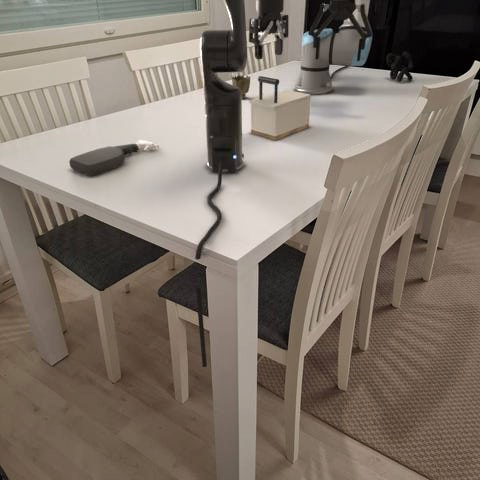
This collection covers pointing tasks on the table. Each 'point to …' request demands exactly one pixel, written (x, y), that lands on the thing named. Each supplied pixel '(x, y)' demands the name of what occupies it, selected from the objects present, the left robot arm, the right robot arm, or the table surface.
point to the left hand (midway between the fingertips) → (268, 56)
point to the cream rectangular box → (280, 119)
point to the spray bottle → (106, 157)
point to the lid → (277, 95)
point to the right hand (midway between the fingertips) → (337, 59)
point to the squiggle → (399, 66)
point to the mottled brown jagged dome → (242, 84)
